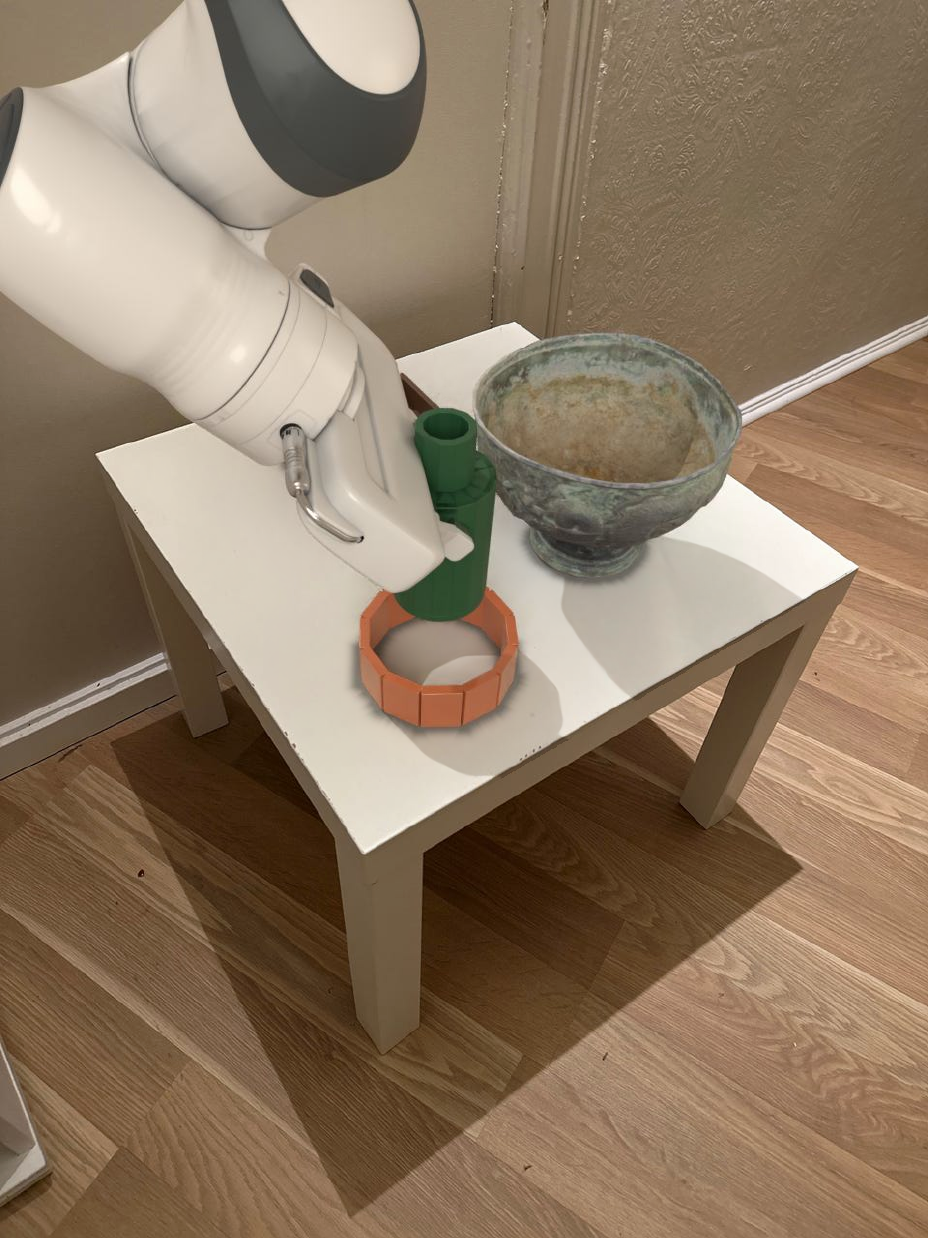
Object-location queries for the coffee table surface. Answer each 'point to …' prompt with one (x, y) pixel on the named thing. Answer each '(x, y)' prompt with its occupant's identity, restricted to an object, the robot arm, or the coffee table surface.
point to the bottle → (454, 514)
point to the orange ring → (437, 700)
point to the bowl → (603, 444)
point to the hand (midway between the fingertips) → (452, 504)
